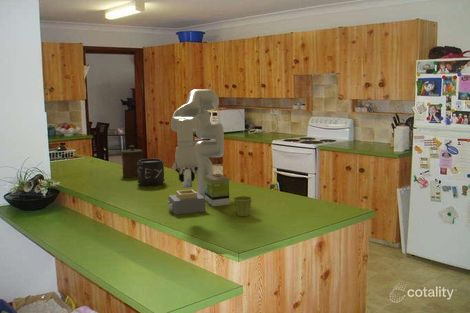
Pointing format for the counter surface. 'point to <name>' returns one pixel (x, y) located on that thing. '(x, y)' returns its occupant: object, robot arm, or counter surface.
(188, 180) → the spout can
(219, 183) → the tea box
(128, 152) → the wooden container
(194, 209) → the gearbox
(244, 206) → the plant pot
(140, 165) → the black lettered box
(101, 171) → the counter surface
